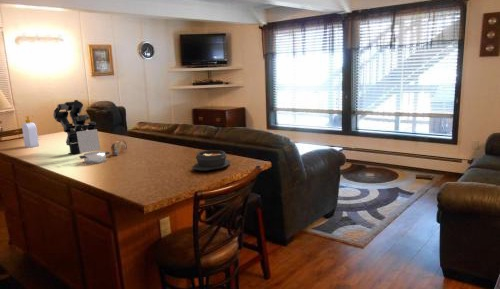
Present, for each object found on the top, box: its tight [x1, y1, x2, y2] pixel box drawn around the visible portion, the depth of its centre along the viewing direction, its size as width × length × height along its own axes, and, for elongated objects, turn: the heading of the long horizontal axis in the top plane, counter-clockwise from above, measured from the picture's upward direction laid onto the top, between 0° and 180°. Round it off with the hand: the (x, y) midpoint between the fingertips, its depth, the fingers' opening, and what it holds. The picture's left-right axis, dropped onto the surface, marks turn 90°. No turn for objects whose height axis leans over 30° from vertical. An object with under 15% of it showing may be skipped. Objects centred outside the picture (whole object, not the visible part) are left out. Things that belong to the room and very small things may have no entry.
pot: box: [79, 150, 110, 165], centre depth 226 cm, size 12×17×5 cm
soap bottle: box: [21, 115, 40, 148], centre depth 280 cm, size 9×7×23 cm
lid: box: [76, 128, 102, 154], centre depth 231 cm, size 13×12×3 cm
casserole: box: [191, 149, 232, 172], centre depth 205 cm, size 25×19×8 cm
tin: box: [110, 139, 128, 156], centre depth 247 cm, size 15×3×8 cm, turn 168°
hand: (84, 137), depth 235 cm, fingers closed
